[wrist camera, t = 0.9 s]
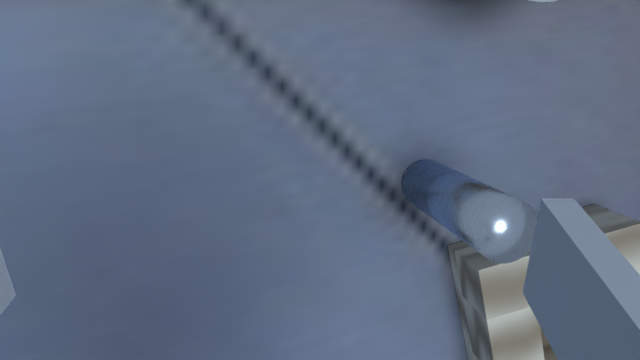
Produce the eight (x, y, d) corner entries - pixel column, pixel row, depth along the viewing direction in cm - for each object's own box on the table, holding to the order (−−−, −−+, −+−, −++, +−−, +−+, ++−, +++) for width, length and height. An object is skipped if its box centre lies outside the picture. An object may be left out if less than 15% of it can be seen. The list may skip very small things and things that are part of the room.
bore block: (608, 341, 52) (656, 375, 46) (472, 384, 50) (504, 425, 44) (593, 204, 49) (643, 222, 43) (447, 245, 47) (478, 270, 41)
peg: (450, 199, 46) (542, 253, 33) (406, 211, 46) (481, 271, 32) (442, 154, 45) (534, 190, 32) (397, 166, 45) (470, 208, 31)
